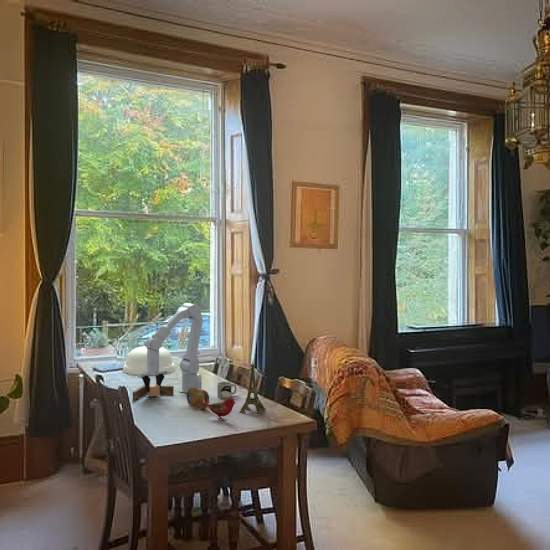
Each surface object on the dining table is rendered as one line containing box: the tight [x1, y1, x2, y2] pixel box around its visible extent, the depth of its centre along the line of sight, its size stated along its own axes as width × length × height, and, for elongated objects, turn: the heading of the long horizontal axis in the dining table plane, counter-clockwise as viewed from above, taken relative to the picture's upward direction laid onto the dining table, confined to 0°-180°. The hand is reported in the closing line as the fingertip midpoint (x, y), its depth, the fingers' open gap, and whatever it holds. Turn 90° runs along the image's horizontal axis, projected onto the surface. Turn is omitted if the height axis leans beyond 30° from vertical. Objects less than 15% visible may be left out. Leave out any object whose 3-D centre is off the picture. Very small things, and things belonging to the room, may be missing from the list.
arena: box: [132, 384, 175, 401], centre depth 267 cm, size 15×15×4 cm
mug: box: [216, 381, 238, 400], centre depth 270 cm, size 10×7×7 cm
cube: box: [146, 384, 160, 396], centre depth 267 cm, size 4×4×4 cm
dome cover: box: [122, 345, 176, 376], centre depth 330 cm, size 32×30×14 cm
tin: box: [186, 388, 210, 410], centre depth 250 cm, size 15×3×8 cm, turn 40°
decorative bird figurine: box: [201, 397, 236, 421], centre depth 232 cm, size 3×18×10 cm, turn 61°
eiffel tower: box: [238, 360, 266, 416], centre depth 245 cm, size 11×11×25 cm
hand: (152, 390), depth 267 cm, fingers open, 5 cm apart
